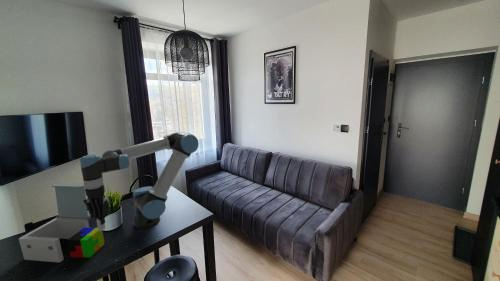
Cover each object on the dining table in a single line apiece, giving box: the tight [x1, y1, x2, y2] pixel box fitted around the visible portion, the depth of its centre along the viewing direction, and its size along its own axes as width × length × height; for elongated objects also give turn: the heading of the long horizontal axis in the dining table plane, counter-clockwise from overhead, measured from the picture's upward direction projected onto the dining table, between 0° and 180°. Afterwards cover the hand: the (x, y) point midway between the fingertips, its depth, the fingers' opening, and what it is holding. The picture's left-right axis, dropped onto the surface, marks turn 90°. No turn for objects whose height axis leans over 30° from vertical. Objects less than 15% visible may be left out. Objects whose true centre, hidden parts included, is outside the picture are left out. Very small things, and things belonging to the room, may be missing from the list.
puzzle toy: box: [66, 227, 105, 258], centre depth 107 cm, size 10×10×10 cm
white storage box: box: [18, 214, 92, 263], centre depth 108 cm, size 21×19×14 cm
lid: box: [51, 184, 88, 219], centre depth 114 cm, size 18×20×2 cm
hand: (101, 229), depth 104 cm, fingers closed
